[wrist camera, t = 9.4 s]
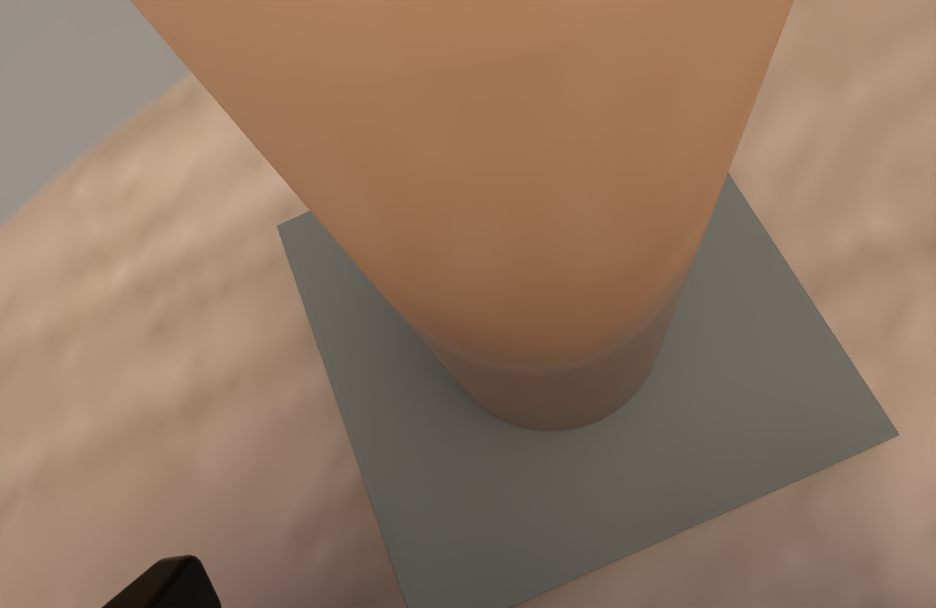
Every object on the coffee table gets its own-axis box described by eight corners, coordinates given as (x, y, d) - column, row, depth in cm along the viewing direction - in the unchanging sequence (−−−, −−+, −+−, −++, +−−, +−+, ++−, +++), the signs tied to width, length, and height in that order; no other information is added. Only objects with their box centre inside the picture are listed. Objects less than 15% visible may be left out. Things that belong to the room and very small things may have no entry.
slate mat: (885, 440, 15) (899, 435, 14) (429, 641, 15) (420, 646, 15) (648, 73, 19) (650, 54, 18) (289, 238, 19) (276, 225, 19)
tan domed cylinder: (673, 426, 15) (1003, 2, 3) (442, 435, 16) (-11, 125, 4) (650, 213, 17) (806, -606, 5) (441, 230, 18) (120, -435, 6)
